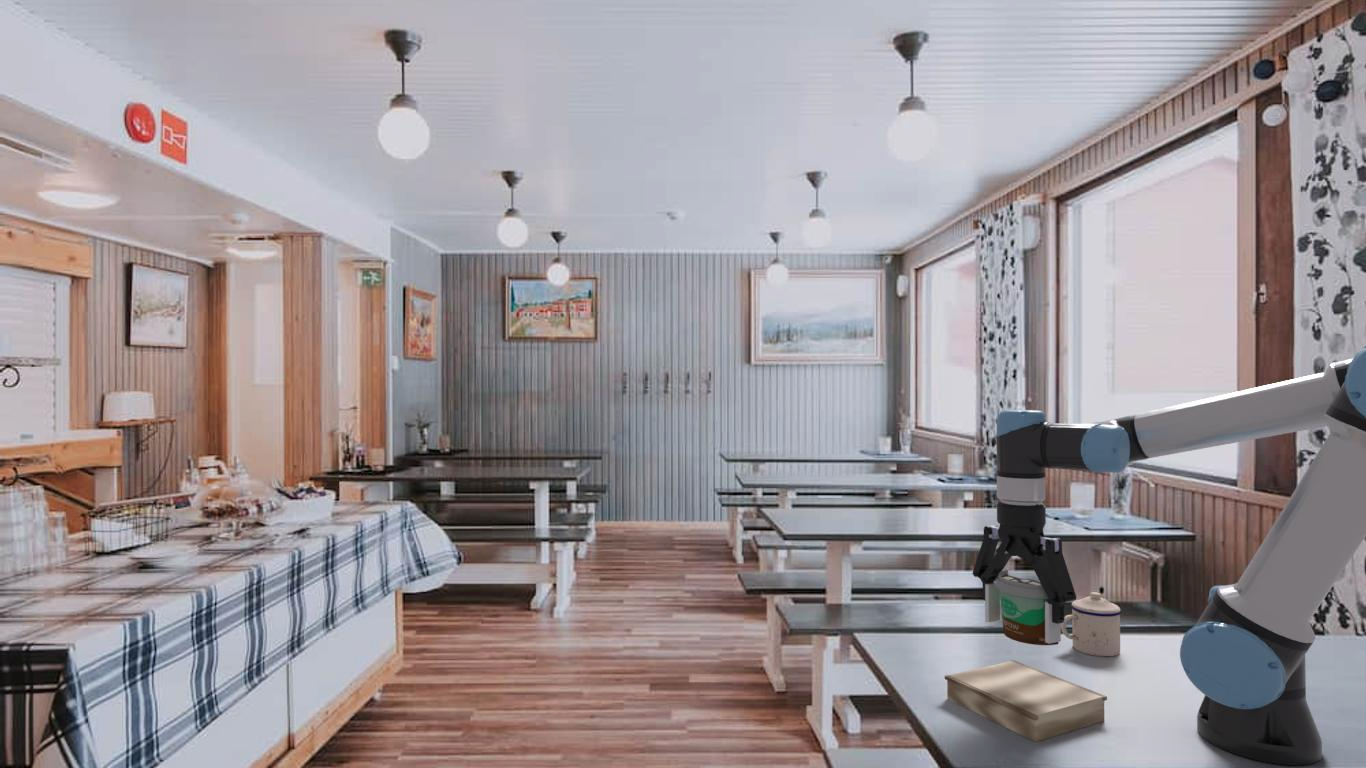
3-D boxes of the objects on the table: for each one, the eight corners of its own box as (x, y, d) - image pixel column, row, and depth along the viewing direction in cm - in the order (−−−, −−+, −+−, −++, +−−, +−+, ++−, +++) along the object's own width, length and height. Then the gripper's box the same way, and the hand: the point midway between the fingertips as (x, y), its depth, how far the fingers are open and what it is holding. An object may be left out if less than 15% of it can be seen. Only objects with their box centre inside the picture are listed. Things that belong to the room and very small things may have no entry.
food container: (979, 630, 131) (979, 572, 131) (1005, 625, 134) (1004, 569, 134) (1039, 652, 120) (1039, 589, 120) (1066, 647, 123) (1065, 585, 123)
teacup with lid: (1102, 641, 160) (1102, 586, 160) (1131, 656, 151) (1131, 598, 151) (1049, 643, 159) (1048, 588, 159) (1075, 659, 150) (1074, 600, 150)
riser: (1107, 721, 122) (1106, 696, 122) (1034, 742, 115) (1034, 716, 115) (1013, 681, 139) (1013, 659, 139) (944, 698, 132) (944, 675, 132)
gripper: (1101, 510, 118) (1102, 649, 118) (981, 491, 140) (982, 609, 140) (1068, 514, 115) (1069, 657, 115) (951, 493, 136) (951, 614, 136)
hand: (1021, 630), depth 127 cm, fingers closed on food container, 11 cm apart
